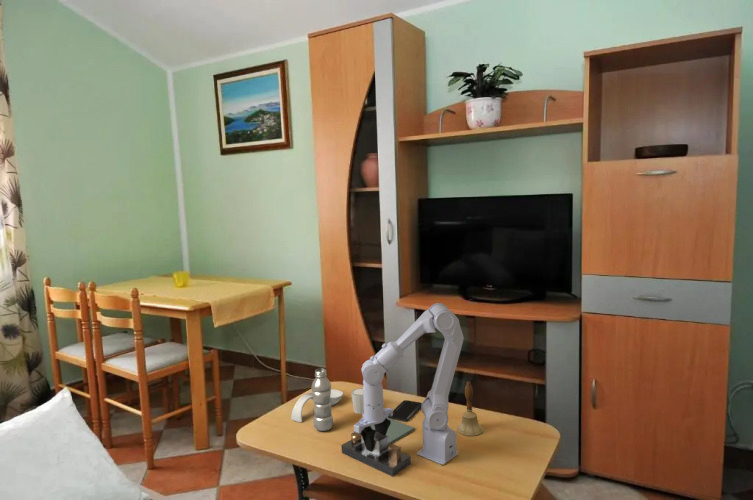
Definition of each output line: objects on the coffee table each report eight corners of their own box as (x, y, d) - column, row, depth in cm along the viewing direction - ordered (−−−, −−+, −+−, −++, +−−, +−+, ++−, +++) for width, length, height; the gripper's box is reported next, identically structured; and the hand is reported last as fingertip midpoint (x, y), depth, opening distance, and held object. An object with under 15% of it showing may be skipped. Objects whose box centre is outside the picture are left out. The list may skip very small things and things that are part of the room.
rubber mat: (414, 429, 161) (414, 427, 161) (386, 446, 151) (386, 444, 151) (382, 418, 171) (382, 415, 170) (353, 433, 160) (353, 430, 160)
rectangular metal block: (388, 451, 143) (388, 436, 143) (379, 456, 140) (379, 441, 140) (371, 443, 148) (370, 429, 147) (361, 449, 145) (361, 434, 145)
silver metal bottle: (324, 435, 160) (321, 375, 157) (309, 430, 164) (306, 371, 161) (337, 427, 165) (335, 369, 162) (322, 422, 169) (320, 365, 167)
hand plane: (411, 464, 141) (410, 444, 140) (392, 476, 135) (392, 455, 134) (360, 442, 154) (359, 424, 153) (341, 453, 148) (340, 433, 148)
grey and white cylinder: (348, 412, 176) (347, 393, 175) (357, 405, 182) (357, 386, 181) (365, 416, 173) (364, 396, 172) (374, 408, 179) (373, 389, 178)
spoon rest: (324, 395, 193) (323, 377, 192) (349, 400, 187) (349, 382, 186) (283, 419, 173) (282, 399, 172) (310, 426, 167) (309, 405, 166)
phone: (424, 403, 180) (407, 420, 167) (424, 406, 180) (407, 423, 167) (404, 399, 183) (386, 416, 170) (404, 402, 184) (386, 419, 170)
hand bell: (456, 435, 157) (455, 386, 155) (458, 423, 165) (457, 376, 163) (482, 437, 155) (482, 388, 153) (483, 425, 163) (483, 378, 161)
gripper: (379, 390, 151) (381, 433, 152) (345, 407, 140) (347, 452, 141) (397, 396, 146) (399, 440, 147) (363, 413, 135) (365, 461, 137)
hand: (375, 447), depth 144 cm, fingers closed on rectangular metal block, 4 cm apart
